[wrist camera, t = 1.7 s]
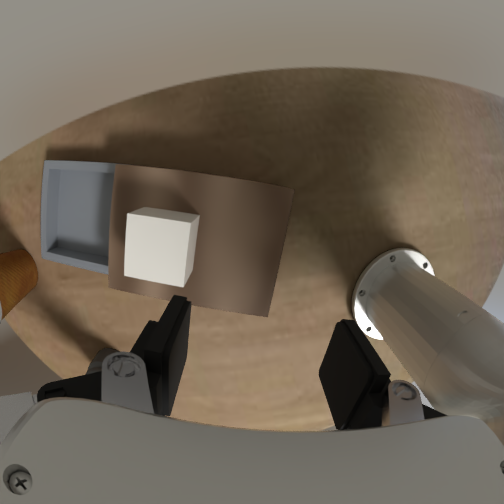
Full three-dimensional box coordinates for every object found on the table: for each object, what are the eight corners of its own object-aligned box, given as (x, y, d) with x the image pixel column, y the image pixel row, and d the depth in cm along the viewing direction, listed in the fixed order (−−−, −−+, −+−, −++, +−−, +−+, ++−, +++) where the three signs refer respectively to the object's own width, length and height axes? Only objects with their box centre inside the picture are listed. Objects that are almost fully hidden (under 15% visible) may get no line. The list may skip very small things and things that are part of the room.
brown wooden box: (284, 186, 29) (294, 189, 23) (263, 291, 32) (267, 317, 26) (139, 165, 27) (115, 164, 22) (130, 268, 31) (108, 287, 25)
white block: (199, 215, 23) (190, 223, 19) (192, 270, 24) (183, 287, 21) (145, 206, 23) (127, 213, 19) (140, 260, 24) (124, 275, 20)
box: (139, 165, 27) (128, 164, 25) (130, 268, 31) (120, 277, 28) (58, 160, 27) (44, 160, 24) (54, 251, 30) (41, 258, 27)
